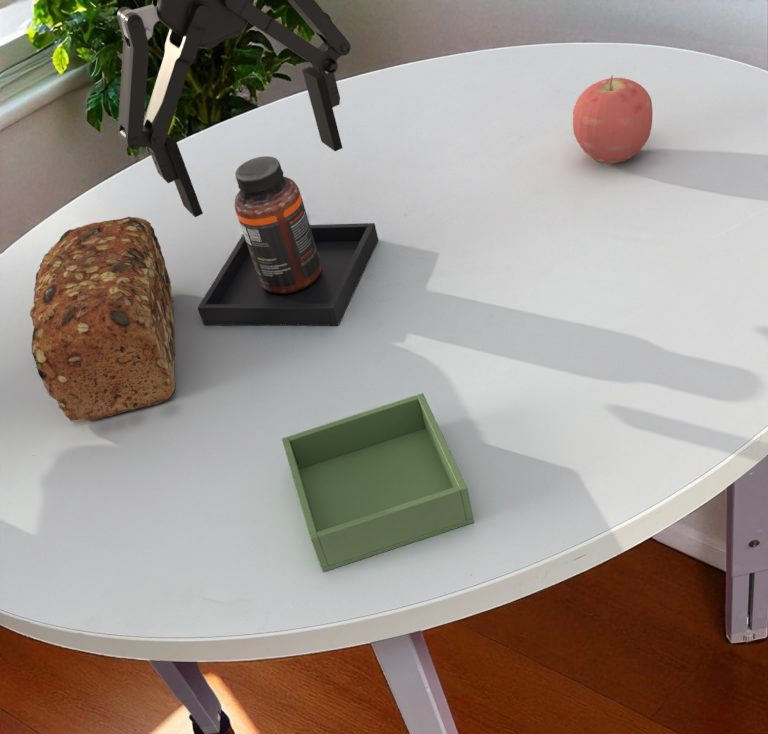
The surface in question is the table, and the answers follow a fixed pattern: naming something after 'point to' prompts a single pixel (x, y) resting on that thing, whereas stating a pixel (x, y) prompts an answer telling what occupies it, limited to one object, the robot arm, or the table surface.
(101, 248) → the bread
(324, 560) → the bin
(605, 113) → the apple
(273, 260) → the supplement bottle
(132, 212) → the table surface
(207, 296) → the black square tray
